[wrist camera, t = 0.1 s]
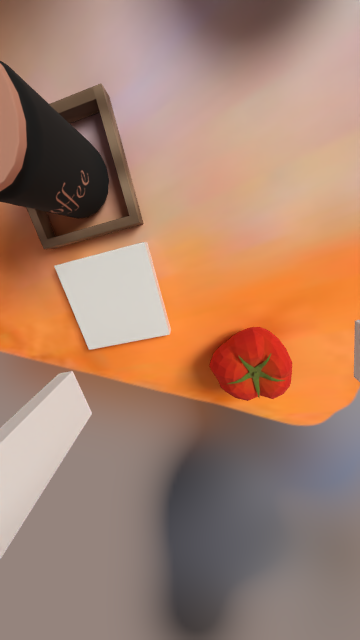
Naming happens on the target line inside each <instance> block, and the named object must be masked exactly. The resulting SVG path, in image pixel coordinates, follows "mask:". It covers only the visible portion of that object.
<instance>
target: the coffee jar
mask: <svg viewBox="0 0 360 640" xmlns="http://www.w3.org/2000/svg"><path fill="white" fill-rule="evenodd" d="M108 184H109V179H108V174H107V169H106V165H105V163H104V161H103V159H102V157H101V155H100V153H99V152H98V151H97V150H96V149H95V148H94V147H93V145H92V144H91V143H90V142H89V141H88V140H87V139H85V138H84V137H83V136H82V135H81V134H80V133H79V132H78V131H77V130H76V129H75V128H74V127H73V126H72V125H71V124H69V123H68V122H67V121H66V120H65V119H64V118H63V117H62V116H61V115H60V114H59V113H58V112H57V111H56V110H55V109H54V108H52V107H51V106H50V105H49V104H48V103H47V102H46V101H45V100H44V99H43V98H42V97H41V96H40V95H39V94H38V93H37V92H35V91H34V90H33V89H32V88H31V87H30V86H29V85H28V84H27V83H26V82H25V81H24V80H23V79H22V78H21V77H19V76H18V75H17V74H16V73H15V72H14V71H13V70H12V69H11V68H10V67H9V66H8V65H6V64H5V63H3V62H1V61H0V202H5V203H9V204H14V205H18V206H23V207H28V208H32V209H37V210H41V211H46V212H50V213H55V214H60V215H64V216H69V217H74V218H85V217H89V216H91V215H93V214H94V213H96V212H97V211H98V210H99V209H100V208H101V206H102V205H103V204H104V202H105V199H106V197H107V194H108Z"/></svg>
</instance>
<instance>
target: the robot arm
mask: <svg viewBox="0 0 360 640" xmlns="http://www.w3.org/2000/svg"><path fill="white" fill-rule="evenodd" d="M354 377H355V378H356V379H357V380H358V381H359V382H360V320H357V321H355V347H354ZM91 414H92V412H91V410H90V408H89V406H88V404H87V401H86V399H85V397H84V395H83V393H82V391H81V388H80V386H79V384H78V382H77V380H76V378H75V375H74V373H73V371H69V372H64V373H59V374H58V375H57V376H56V377H55V378H54V379H52V380H51V381H50V382H49V383H48V384H47V385H46V386H45V387H44V388H43V389H42V390H41V391H39V392H38V394H36V395H35V396H34V397H33V398H32V399H31V400H30V401H29V402H28V403H27V404H25V405H24V406H23V407H22V408H21V409H20V410H19V411H18V412H17V413H16V414H15V415H13V416H12V417H11V418H10V419H9V420H8V421H7V422H6V423H5V424H4V425H3V426H2V427H1V428H0V559H1V557H2V556H3V554H4V552H5V551H6V549H7V548H8V546H9V544H10V543H11V541H12V540H13V538H14V537H15V535H16V533H17V532H18V530H19V529H20V527H21V525H22V524H23V522H24V521H25V519H26V517H27V516H28V514H29V513H30V511H31V510H32V508H33V506H34V504H35V503H36V502H37V500H38V498H39V497H40V495H41V494H42V492H43V491H44V489H45V487H46V486H47V484H48V482H49V481H50V479H51V478H52V476H53V475H54V473H55V472H56V470H57V468H58V467H59V465H60V464H61V462H62V460H63V459H64V457H65V456H66V454H67V452H68V451H69V449H70V448H71V446H72V444H73V443H74V441H75V440H76V438H77V437H78V435H79V433H80V432H81V430H82V429H83V427H84V426H85V424H86V422H87V421H88V419H89V418H90V416H91Z"/></svg>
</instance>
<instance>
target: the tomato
mask: <svg viewBox="0 0 360 640" xmlns="http://www.w3.org/2000/svg"><path fill="white" fill-rule="evenodd" d="M210 369H211V370H212V372H213V373H214V375H215V376H216V378H217V379H218V382H219V384H220V386H221V388H222V389H223V390H225V391H226V392H227V393H229V394H231V395H232V396H234V397H235V398H239V399H243V400H247V401H248V400H251V399H253V398H255V397H259V396H260V395H261V396H264V397H268V398H271V399H274V398H276V397H278V396H280V395H282V394H284V392H285V391H286V390H287V389H288V388H289V386H290V384H291V375H292V361H291V359H290V357H289V355H288V352H287V350H286V348H285V347H284V345H283V344H282V343H281V341H280V340H279V339H278V338H277V337H276V336H275V335H273V334H272V333H271V332H270V331H268V330H266V329H263V328H261V327H252V328H247V329H245V330H242V331H240V332H238V333H237V334H235V335H233V336H232V337H231V338H230V339H229V340H228V341H227V342H225V343H224V344H222V345H221V346H220V347H219V348H218V349H217V350H216V351H215V352H214V354H213V356H212V359H211V362H210Z"/></svg>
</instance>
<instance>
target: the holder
mask: <svg viewBox="0 0 360 640" xmlns="http://www.w3.org/2000/svg"><path fill="white" fill-rule="evenodd" d="M49 105H50V106H51V107H52V108H54V109H55V110H56V111H57V112H58V113H59V114H60V115H61V116H62V117H63V118H64V119H65V120H66V121H67V122H68V123H72V122H74V121H77V120H80V119H82V118H85V117H88V116H90V115H93V114H96V113H98V112H100V114H101V118H102V121H103V125H104V128H105V132H106V136H107V139H108V143H109V146H110V150H111V153H112V157H113V160H114V164H115V167H116V171H117V174H118V178H119V181H120V185H121V188H122V192H123V195H124V199H125V202H126V206H127V209H128V213H129V216H127V217H123V218H120V219H116V220H113V221H109V222H106V223H102V224H99V225H96V226H92V227H89V228H85V229H82V230H78V231H75V232H71V233H68V234H64V235H61V236H57V237H56V236H55V233H54V231H53V228H52V226H51V223H50V221H49V218H48V216H47V213H46V211H41V210H37V209H32V208H28V207H26V208H27V210H28V212H29V215H30V217H31V219H32V222H33V224H34V227H35V229H36V231H37V234H38V236H39V239H40V241H41V243H42V246H43V248H44V249H55V248H58V247H62V246H66V245H69V244H73V243H76V242H80V241H84V240H87V239H91V238H94V237H98V236H101V235H105V234H109V233H112V232H116V231H119V230H123V229H126V228H130V227H134V226H137V225H141V224H143V220H142V217H141V213H140V209H139V205H138V202H137V198H136V194H135V191H134V187H133V183H132V179H131V176H130V172H129V168H128V165H127V161H126V157H125V153H124V150H123V146H122V142H121V139H120V135H119V131H118V128H117V124H116V120H115V116H114V113H113V109H112V105H111V102H110V98H109V95H108V94H107V92H106V90H105V89H104V87H103V85H102V84H98V85H96V86H93V87H91V88H88V89H86V90H83V91H81V92H79V93H76V94H74V95H71V96H69V97H66V98H64V99H61V100H59V101H56V102H54V103H51V104H49Z"/></svg>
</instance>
